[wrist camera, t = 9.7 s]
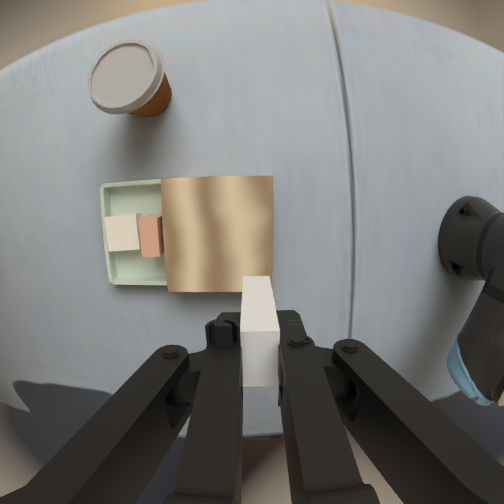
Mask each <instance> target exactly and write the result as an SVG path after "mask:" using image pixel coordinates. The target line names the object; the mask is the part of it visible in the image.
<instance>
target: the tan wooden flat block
mask: <svg viewBox="0 0 504 504" xmlns="http://www.w3.org/2000/svg"><path fill="white" fill-rule="evenodd" d="M161 203H162V223H163V240H164V254H165V266H166V277H167V287H168V292H242V289H243V276H269V277H270V282H271V287H272V257H273V176H210V177H184V178H166V179H161Z"/></svg>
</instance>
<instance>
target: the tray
mask: <svg viewBox="0 0 504 504" xmlns="http://www.w3.org/2000/svg"><path fill="white" fill-rule="evenodd" d="M100 199H101V215H102V227H103V238H104V247H105V256H106V264H107V271H108V278H109V284H117V285H167V277H166V266H165V254H164V253H163V254H162V255H161V256H160V257H142V252H141V249H139V250H124V251H110V252H109V249H108V242H107V235H106V227H105V219H104V217H107V216H110V215H115V214H124V213H133V212H141V213H142V217H145V216H147V215H149V214H162V203H161V179H151V180H137V181H125V182H114V183H104V184H100Z"/></svg>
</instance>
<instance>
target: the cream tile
mask: <svg viewBox="0 0 504 504" xmlns="http://www.w3.org/2000/svg"><path fill="white" fill-rule="evenodd" d="M140 218H142V213H141V212H133V213H124V214H115V215H110V216H107V217H104V219H105V227H106V235H107V242H108V249H109V252H110V251H124V250H139V249H141V241H140V230H139V219H140Z"/></svg>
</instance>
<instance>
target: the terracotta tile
mask: <svg viewBox="0 0 504 504" xmlns="http://www.w3.org/2000/svg"><path fill="white" fill-rule="evenodd" d="M139 230H140V241H141V252H142V257H160V256H161V255H162V254H163V253H164V240H163V223H162V214H149V215H147V216H145V217H142V218H140V219H139Z"/></svg>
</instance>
